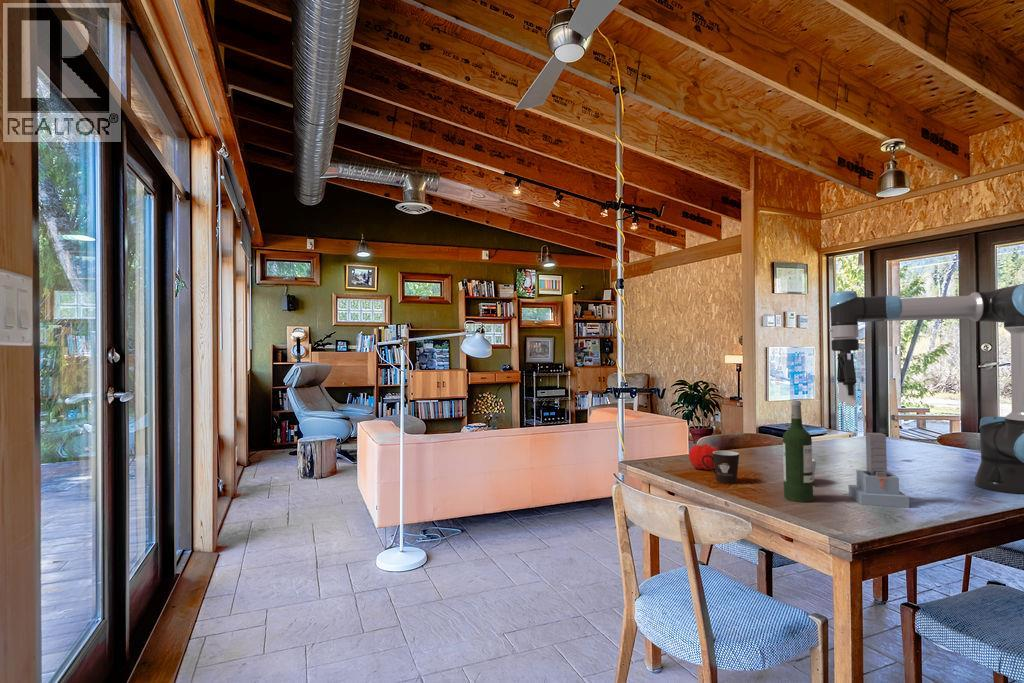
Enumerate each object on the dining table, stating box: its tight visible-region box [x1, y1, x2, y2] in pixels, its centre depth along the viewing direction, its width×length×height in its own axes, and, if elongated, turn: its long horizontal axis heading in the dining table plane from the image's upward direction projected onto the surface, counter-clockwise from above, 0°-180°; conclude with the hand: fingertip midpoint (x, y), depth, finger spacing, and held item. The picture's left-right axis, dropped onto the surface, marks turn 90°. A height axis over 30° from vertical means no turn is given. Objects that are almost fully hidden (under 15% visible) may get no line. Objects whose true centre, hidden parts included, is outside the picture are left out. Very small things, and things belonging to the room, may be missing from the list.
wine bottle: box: [782, 399, 814, 503], centre depth 164 cm, size 8×8×30 cm
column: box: [865, 432, 888, 476], centre depth 161 cm, size 4×5×20 cm
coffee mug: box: [702, 450, 740, 485], centre depth 188 cm, size 12×9×10 cm
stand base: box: [847, 469, 910, 508], centre depth 161 cm, size 12×12×9 cm
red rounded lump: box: [688, 443, 720, 471], centre depth 208 cm, size 11×12×9 cm
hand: (847, 403), depth 174 cm, fingers open, 13 cm apart
